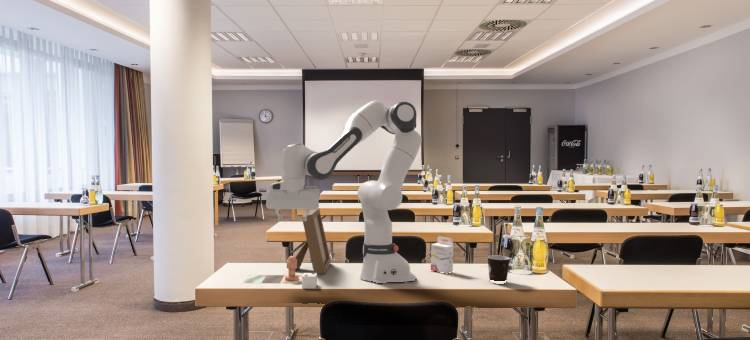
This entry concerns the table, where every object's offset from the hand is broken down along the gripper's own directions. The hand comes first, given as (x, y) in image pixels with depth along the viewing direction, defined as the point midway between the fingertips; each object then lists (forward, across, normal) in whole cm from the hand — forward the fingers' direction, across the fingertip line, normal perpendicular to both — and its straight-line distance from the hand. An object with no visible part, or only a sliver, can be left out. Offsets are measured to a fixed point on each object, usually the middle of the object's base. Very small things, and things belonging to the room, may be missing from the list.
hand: (292, 220), depth 194 cm
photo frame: (+24, -6, -19) cm, 31 cm away
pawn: (+23, 0, 0) cm, 23 cm away
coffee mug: (+23, -81, +1) cm, 84 cm away
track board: (+24, +7, 0) cm, 25 cm away
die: (+24, -8, +10) cm, 27 cm away
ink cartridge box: (+23, -62, -16) cm, 68 cm away
